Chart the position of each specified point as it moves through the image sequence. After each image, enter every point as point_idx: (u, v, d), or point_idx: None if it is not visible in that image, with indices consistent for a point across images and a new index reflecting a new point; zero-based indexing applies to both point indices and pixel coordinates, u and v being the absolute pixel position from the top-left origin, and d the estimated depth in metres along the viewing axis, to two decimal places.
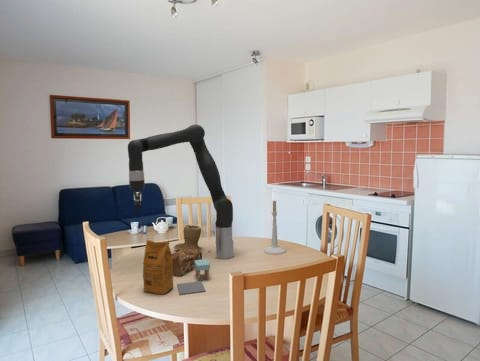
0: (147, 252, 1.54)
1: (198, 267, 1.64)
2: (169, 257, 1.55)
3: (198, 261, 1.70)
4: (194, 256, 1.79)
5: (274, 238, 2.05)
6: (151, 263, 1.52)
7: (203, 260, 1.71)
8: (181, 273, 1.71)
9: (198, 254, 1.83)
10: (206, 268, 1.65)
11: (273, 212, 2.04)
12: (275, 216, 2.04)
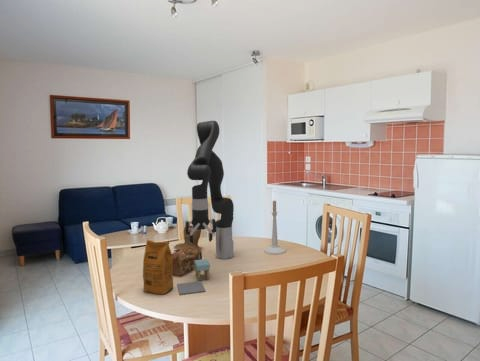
0: (147, 252, 1.54)
1: (198, 267, 1.64)
2: (169, 257, 1.55)
3: (198, 261, 1.70)
4: (194, 256, 1.79)
5: (274, 238, 2.05)
6: (151, 263, 1.52)
7: (203, 260, 1.71)
8: (181, 273, 1.71)
9: (198, 254, 1.82)
10: (206, 268, 1.65)
11: (273, 212, 2.04)
12: (275, 216, 2.04)
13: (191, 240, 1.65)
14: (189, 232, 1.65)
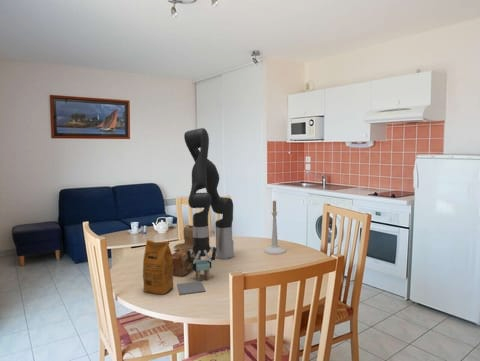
0: (147, 252, 1.54)
1: (198, 267, 1.64)
2: (169, 257, 1.55)
3: (198, 261, 1.70)
4: None
5: (274, 238, 2.05)
6: (151, 263, 1.52)
7: (203, 260, 1.71)
8: (184, 273, 1.71)
9: None
10: (206, 268, 1.65)
11: (273, 212, 2.04)
12: (275, 216, 2.04)
13: (194, 268, 1.67)
14: (192, 260, 1.66)
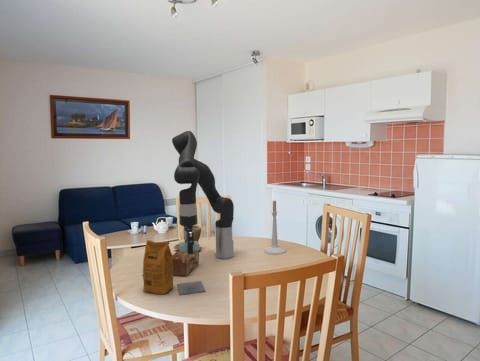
0: (147, 252, 1.54)
1: (199, 246, 1.54)
2: (169, 257, 1.55)
3: (184, 244, 1.53)
4: None
5: (274, 238, 2.05)
6: (151, 263, 1.52)
7: (183, 243, 1.55)
8: (187, 273, 1.71)
9: None
10: None
11: (273, 212, 2.04)
12: (275, 216, 2.04)
13: (192, 250, 1.52)
14: None
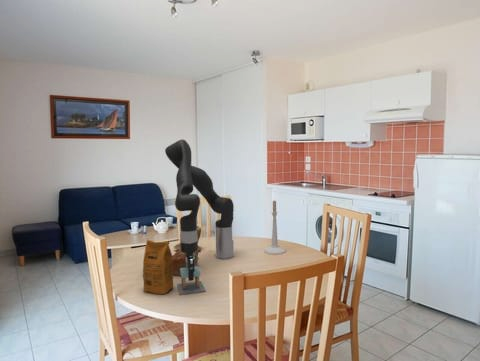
0: (147, 252, 1.54)
1: (199, 272, 1.55)
2: (169, 257, 1.55)
3: (185, 271, 1.54)
4: (195, 255, 1.81)
5: (274, 238, 2.05)
6: (151, 263, 1.52)
7: (184, 269, 1.56)
8: None
9: (196, 253, 1.85)
10: None
11: (273, 212, 2.04)
12: (275, 216, 2.04)
13: (193, 277, 1.53)
14: (192, 269, 1.52)
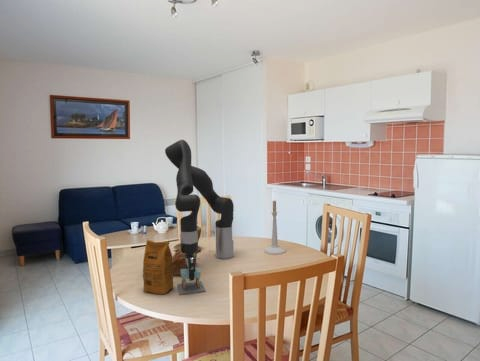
0: (147, 252, 1.54)
1: None
2: (169, 257, 1.55)
3: (185, 272, 1.54)
4: (195, 255, 1.82)
5: (274, 238, 2.05)
6: (151, 263, 1.52)
7: (184, 270, 1.56)
8: None
9: (195, 252, 1.85)
10: None
11: (273, 212, 2.04)
12: (275, 216, 2.04)
13: None
14: (193, 269, 1.51)
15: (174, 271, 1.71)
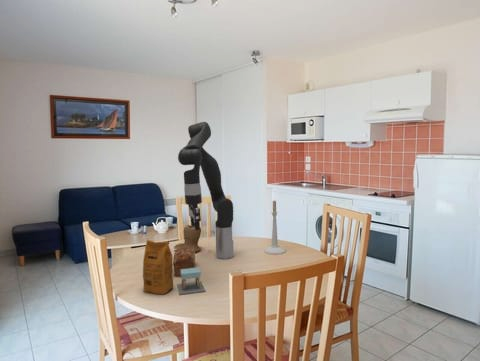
0: (147, 252, 1.54)
1: None
2: (169, 257, 1.55)
3: (185, 272, 1.54)
4: None
5: (274, 238, 2.05)
6: (151, 263, 1.52)
7: (184, 270, 1.56)
8: None
9: None
10: None
11: (273, 212, 2.04)
12: (275, 216, 2.04)
13: (199, 226, 1.60)
14: (198, 219, 1.59)
15: (176, 271, 1.71)
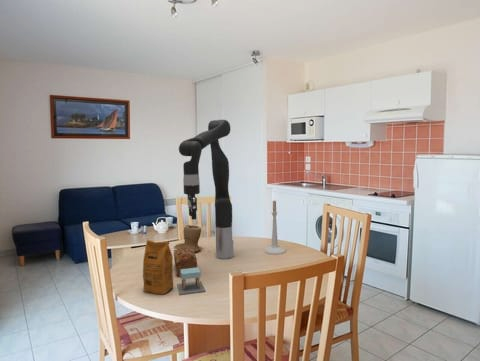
0: (147, 252, 1.54)
1: None
2: (169, 257, 1.55)
3: (185, 272, 1.54)
4: None
5: (274, 238, 2.05)
6: (151, 263, 1.52)
7: (184, 270, 1.56)
8: None
9: None
10: None
11: (273, 212, 2.04)
12: (275, 216, 2.04)
13: (195, 216, 1.66)
14: None
15: (179, 271, 1.70)
